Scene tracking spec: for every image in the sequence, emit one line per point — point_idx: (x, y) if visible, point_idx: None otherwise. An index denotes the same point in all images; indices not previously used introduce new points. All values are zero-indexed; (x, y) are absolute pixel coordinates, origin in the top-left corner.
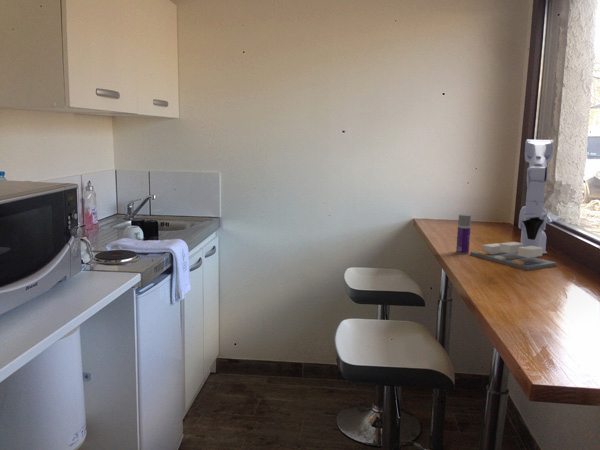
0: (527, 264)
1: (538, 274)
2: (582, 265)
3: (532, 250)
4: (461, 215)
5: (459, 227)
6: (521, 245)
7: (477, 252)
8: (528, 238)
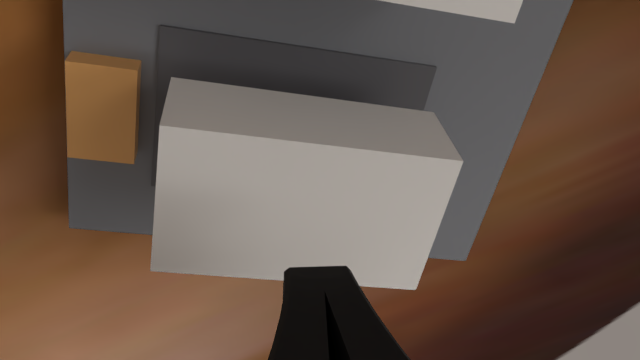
0: (150, 180)
1: (48, 306)
2: (619, 315)
3: (223, 267)
4: None
5: None
6: (451, 8)
7: None
8: (284, 284)
